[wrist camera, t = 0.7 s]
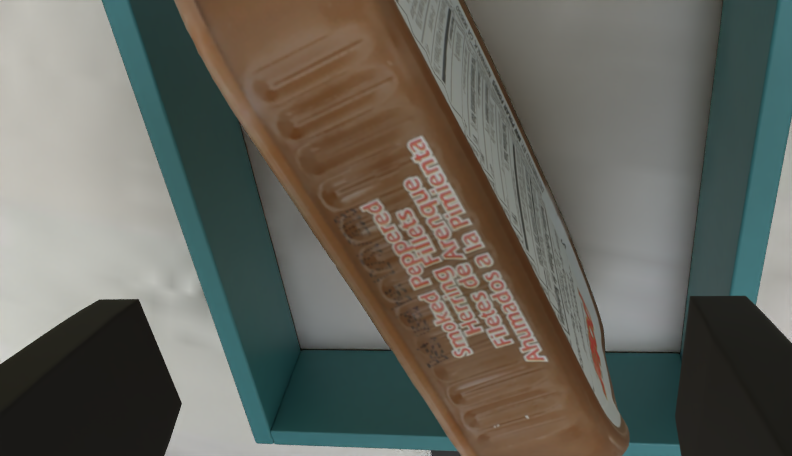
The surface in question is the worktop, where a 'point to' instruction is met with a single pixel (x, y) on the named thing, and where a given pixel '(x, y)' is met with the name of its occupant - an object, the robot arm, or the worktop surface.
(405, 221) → the tin
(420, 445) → the crate
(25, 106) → the worktop surface
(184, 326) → the worktop surface
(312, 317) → the worktop surface
